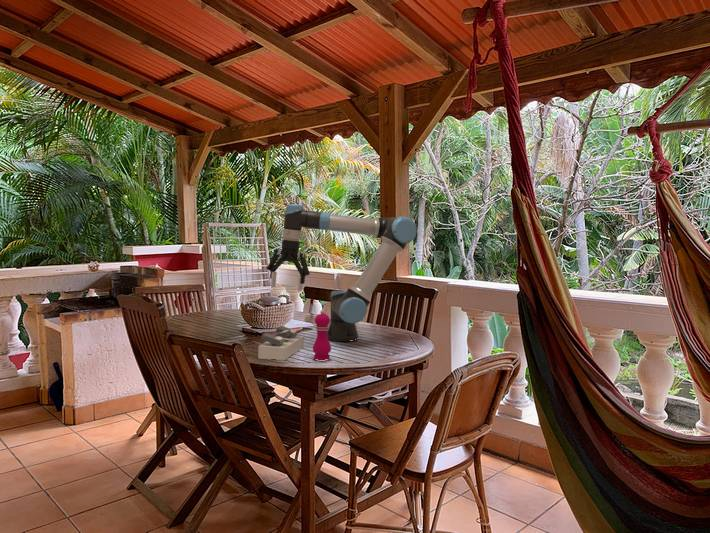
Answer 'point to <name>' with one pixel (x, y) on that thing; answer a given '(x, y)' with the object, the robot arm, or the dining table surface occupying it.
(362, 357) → the dining table surface
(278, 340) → the rocker
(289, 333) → the rocker
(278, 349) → the power strip
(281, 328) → the rocker
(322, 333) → the pepper mill
